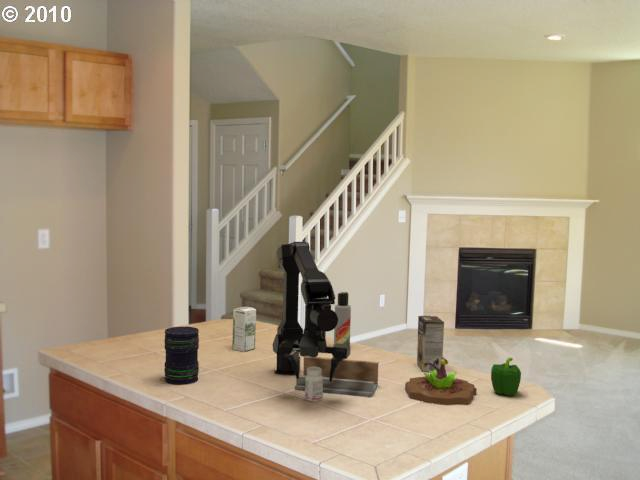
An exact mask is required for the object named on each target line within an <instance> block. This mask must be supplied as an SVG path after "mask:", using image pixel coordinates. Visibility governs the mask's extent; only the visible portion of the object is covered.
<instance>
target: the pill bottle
mask: <svg viewBox="0 0 640 480" xmlns="http://www.w3.org/2000/svg"><path fill="white" fill-rule="evenodd" d="M307 374H308V375H306V377H305V391H304V399H305V400H307V401H308V402H319V401H321V400H323V394H324V393H323V376H322V375H321V374H322V369H321V368H320V367H308V368H307Z"/></svg>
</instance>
